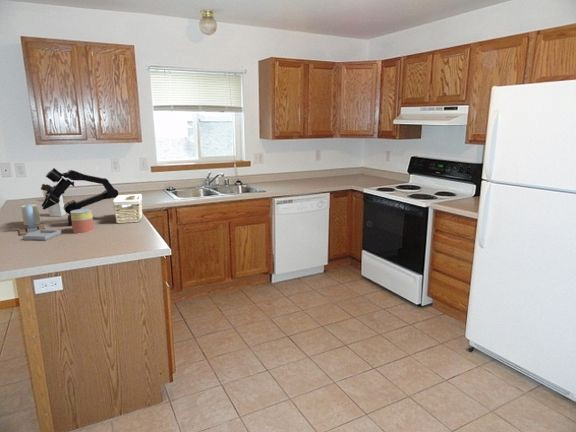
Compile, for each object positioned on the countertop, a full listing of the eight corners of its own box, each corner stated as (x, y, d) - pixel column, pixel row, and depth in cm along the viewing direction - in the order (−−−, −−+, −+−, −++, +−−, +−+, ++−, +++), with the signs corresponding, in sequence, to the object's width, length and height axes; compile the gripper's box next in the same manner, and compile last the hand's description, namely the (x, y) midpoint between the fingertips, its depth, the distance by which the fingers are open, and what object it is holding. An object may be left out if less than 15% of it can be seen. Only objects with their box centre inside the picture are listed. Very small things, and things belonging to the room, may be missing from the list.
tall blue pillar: (27, 229, 235) (23, 205, 232) (37, 228, 238) (33, 204, 234) (27, 232, 230) (23, 207, 226) (37, 231, 232) (33, 206, 229)
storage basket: (118, 216, 268) (116, 194, 265) (144, 214, 273) (142, 193, 269) (114, 224, 246) (111, 201, 243) (142, 222, 250) (140, 199, 247)
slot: (19, 230, 235) (19, 228, 235) (44, 226, 242) (43, 225, 241) (20, 235, 223) (19, 233, 223) (45, 232, 230) (45, 230, 230)
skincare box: (66, 214, 274) (63, 193, 270) (61, 216, 268) (58, 194, 264) (53, 214, 274) (50, 193, 270) (48, 216, 268) (45, 194, 264)
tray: (61, 233, 226) (61, 230, 225) (45, 240, 213) (45, 236, 213) (40, 233, 227) (40, 229, 227) (23, 240, 215) (22, 235, 214)
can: (37, 221, 256) (34, 202, 253) (43, 223, 250) (40, 204, 247) (21, 223, 249) (18, 205, 246) (26, 226, 243) (23, 207, 241)
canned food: (98, 229, 235) (96, 209, 232) (82, 234, 225) (79, 213, 222) (85, 227, 239) (82, 208, 237) (68, 232, 229) (65, 212, 227)
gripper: (47, 177, 241) (29, 197, 238) (50, 180, 226) (30, 202, 223) (64, 188, 247) (46, 208, 244) (67, 192, 232) (48, 213, 229)
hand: (42, 207), depth 235 cm, fingers open, 9 cm apart
